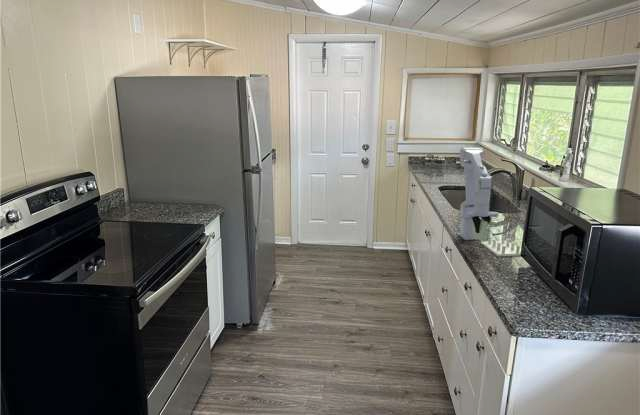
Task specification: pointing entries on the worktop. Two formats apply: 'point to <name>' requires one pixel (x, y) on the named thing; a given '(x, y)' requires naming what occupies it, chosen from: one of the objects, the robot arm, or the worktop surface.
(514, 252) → the rack
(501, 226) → the worktop surface
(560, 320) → the worktop surface
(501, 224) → the worktop surface
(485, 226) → the pale green tall block
